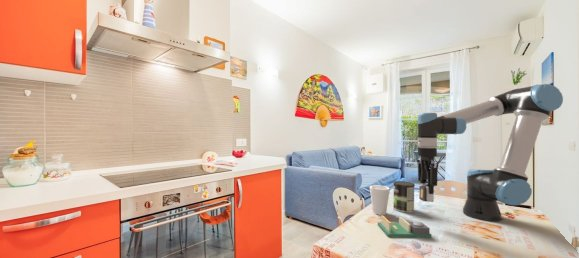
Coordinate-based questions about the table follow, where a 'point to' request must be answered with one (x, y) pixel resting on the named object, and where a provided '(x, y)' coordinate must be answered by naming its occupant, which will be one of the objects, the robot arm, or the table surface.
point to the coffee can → (404, 196)
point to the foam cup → (379, 199)
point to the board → (404, 228)
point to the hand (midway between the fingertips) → (427, 199)
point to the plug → (423, 194)
